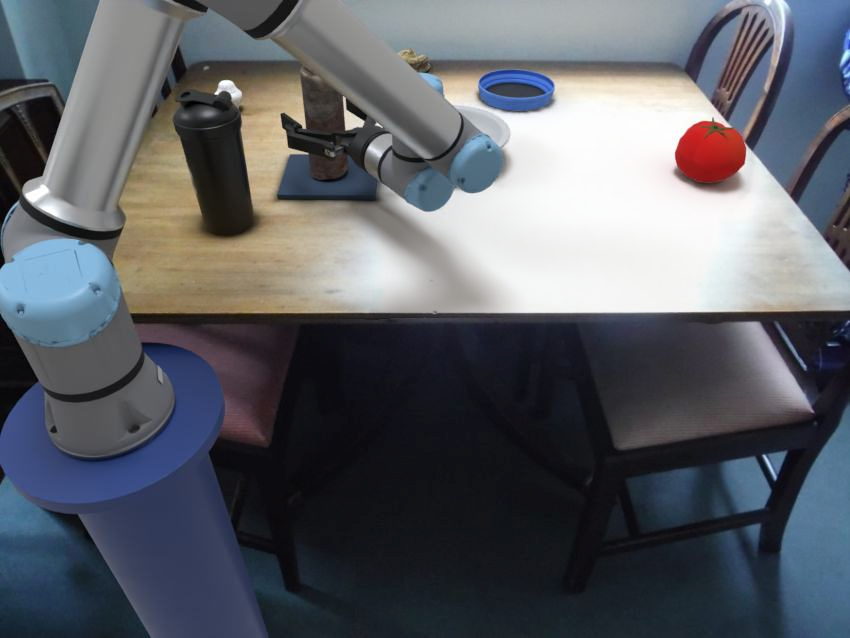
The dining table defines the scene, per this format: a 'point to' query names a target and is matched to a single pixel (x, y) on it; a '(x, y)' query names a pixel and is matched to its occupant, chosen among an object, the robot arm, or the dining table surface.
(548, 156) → the dining table surface
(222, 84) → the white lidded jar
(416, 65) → the cake
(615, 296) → the dining table surface
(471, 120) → the soup bowl
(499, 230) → the dining table surface
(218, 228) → the water bottle
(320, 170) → the candle
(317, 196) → the mat
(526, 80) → the bowl
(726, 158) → the tomato
